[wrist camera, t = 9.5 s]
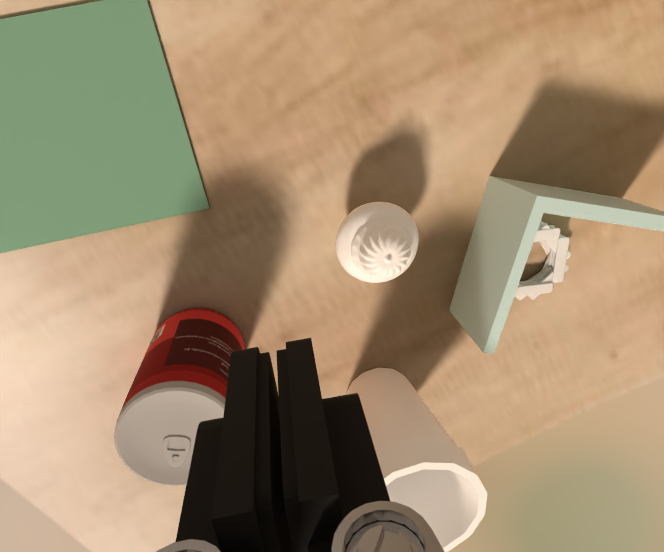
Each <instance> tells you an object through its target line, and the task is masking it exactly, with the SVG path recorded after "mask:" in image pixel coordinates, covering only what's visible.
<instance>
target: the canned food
mask: <svg viewBox="0 0 664 552" xmlns="http://www.w3.org/2000/svg"><path fill="white" fill-rule="evenodd" d="M244 349H245V345H244V341H243V338H242V336H241V334H240V332H239V330H238V329H237V327H236V326H235V324H234V323H233V322H232V321H231V320H230V319H228V318H227V317H226V316H224V315H222V314H221V313H219V312H216V311H213V310H209V309H204V308H193V309H187V310H184V311H181V312H178V313H176V314H175V315H173V316H171V317H170V318H168V319H167V320H166V321H165V322H164V323H162V324H161V325H160V326H159V328H158V329H157V331H156V332H155V334H154V336H153V338H152V341H151V343H150V345H149V347H148V350H147V352H146V354H145V357H144V359H143V361H142V363H141V366H140V368H139V370H138V372H137V375H136V377H135V379H134V381H133V384H132V386H131V388H130V390H129V393H128V395H127V397H126V400H125V402H124V405H123V407H122V410H121V412H120V415H119V417H118V420H117V424H116V428H115V435H114V438H115V446H116V449H117V452H118V454H119V456H120V458H121V459H122V461H123V462H124V464H125V465H126V466H127V467H128V468H129V469H130V470H131V471H132V472H134V473H135V474H137V475H138V476H140V477H142V478H144V479H146V480H148V481H151V482H154V483H158V484H162V485H169V486H185V485H187V480H188V475H189V470H190V464H191V459H192V454H193V449H194V443H195V438H196V433H197V428H198V425H199V423H200V422H201V421H207V420H212V419H218V418H223V416H224V408H225V399H226V391H227V383H228V374H229V366H230V358H231V352H232V351H238V350H244Z"/></svg>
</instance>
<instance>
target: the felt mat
mask: <svg viewBox="0 0 664 552" xmlns="http://www.w3.org/2000/svg"><path fill="white" fill-rule="evenodd" d="M205 209H210V207H209V204H208V200H207V197H206V194H205V190H204V187H203V184H202V180H201V177H200V174H199V170H198V167H197V164H196V160H195V157H194V154H193V150H192V147H191V144H190V140H189V137H188V134H187V130H186V127H185V124H184V120H183V117H182V114H181V110H180V107H179V104H178V100H177V97H176V94H175V90H174V87H173V84H172V80H171V77H170V74H169V70H168V67H167V64H166V60H165V57H164V54H163V50H162V47H161V44H160V40H159V37H158V34H157V30H156V27H155V24H154V20H153V17H152V14H151V10H150V7H149V4H148V0H101V1H95V2H90V3H85V4H79V5H74V6H69V7H63V8H58V9H52V10H47V11H42V12H36V13H31V14H25V15H20V16H15V17H9V18H4V19H0V253H3V252H7V251H12V250H17V249H22V248H26V247H31V246H36V245H40V244H45V243H50V242H55V241H59V240H64V239H69V238H73V237H78V236H83V235H88V234H92V233H97V232H102V231H106V230H111V229H116V228H121V227H125V226H130V225H135V224H139V223H144V222H149V221H154V220H158V219H163V218H168V217H172V216H177V215H182V214H187V213H191V212H196V211H201V210H205Z"/></svg>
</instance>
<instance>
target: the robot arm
mask: <svg viewBox="0 0 664 552" xmlns="http://www.w3.org/2000/svg"><path fill="white" fill-rule="evenodd" d="M277 370H278V392H279V396H278V392H277V387H276V382H275V377H274V372H273V367H272V362H271V358H270V354H269V352H267V353H261V354H260V351H259V348H258V347H255V348H250V349H244V350H238V351H232V352H231V358H230V366H229V374H228V383H227V391H226V399H225V408H224V416H223V418H218V419H212V420H207V421H201V422H200V423H199V425H198V428H197V433H196V438H195V443H194V449H193V454H192V459H191V464H190V470H189V475H188V480H187V485H186V491H185V496H184V501H183V506H182V512H181V517H180V522H179V527H178V533H177V538H176V542H175V543H172V544H170V545H168V546H166V547H164V548H162V549H160V550H158V551H157V552H444V550H443V548H442V546H441V545H440V543H439V541H438V539H437V537H436V536H435V534H434V532H433V530H432V528H431V527H430V526H429V524H428V523H427V522H426V521H425V519H424V518H423V517H422V516H421V515H420V514H418V513H417V512H416V511H414V510H413V509H412V508H410V507H408V506H405V505H402V504H400V503H397V502H391V501H390V498H389V494H388V491H387V488H386V484H385V481H384V478H383V474H382V471H381V468H380V464H379V461H378V458H377V454H376V451H375V448H374V444H373V441H372V437H371V434H370V431H369V427H368V424H367V421H366V417H365V414H364V411H363V407H362V404H361V401H360V398H359V395H358V393H354V394H348V395H343V396H337V397H332V398H326V399H322V397H321V391H320V386H319V380H318V375H317V369H316V364H315V358H314V352H313V347H312V341H311V338H307V339H301V340H296V341H290V342H286V349H284V350H278V351H277Z"/></svg>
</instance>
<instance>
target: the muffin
mask: <svg viewBox="0 0 664 552" xmlns="http://www.w3.org/2000/svg"><path fill="white" fill-rule="evenodd" d="M418 243H419V235H418V230H417V226H416V224H415V222H414V220H413V218H412V217H411V216H410V214H409V213H408V212H407V211H405V210H404V209H403V208H401V207H400V206H397V205H395V204H392V203H388V202H371V203H366V204H363V205H361V206H359V207H357V208H355V209H354V210H353V211H352V212H351V213H350V214H349V215H348V216H347V217H346V218H345V219H344V221H343V222H342V224H341V226H340V228H339V230H338V233H337V237H336V252H337V256H338V259H339V261H340V263H341V265H342V266H343V268H344V269H345V270H346V271H347V272H348V273H349V274H350V275H352V276H353V277H355V278H357V279H360V280H362V281H366V282H372V283H379V282H385V281H389V280H391V279H394V278H396V277H398V276H399V275H400V274H402V273H403V272H404V271H405V270H406V269H407V268H408V267H409V266H410V264H411V263H412V261H413V260H414V258H415V255H416V252H417V249H418Z"/></svg>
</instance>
